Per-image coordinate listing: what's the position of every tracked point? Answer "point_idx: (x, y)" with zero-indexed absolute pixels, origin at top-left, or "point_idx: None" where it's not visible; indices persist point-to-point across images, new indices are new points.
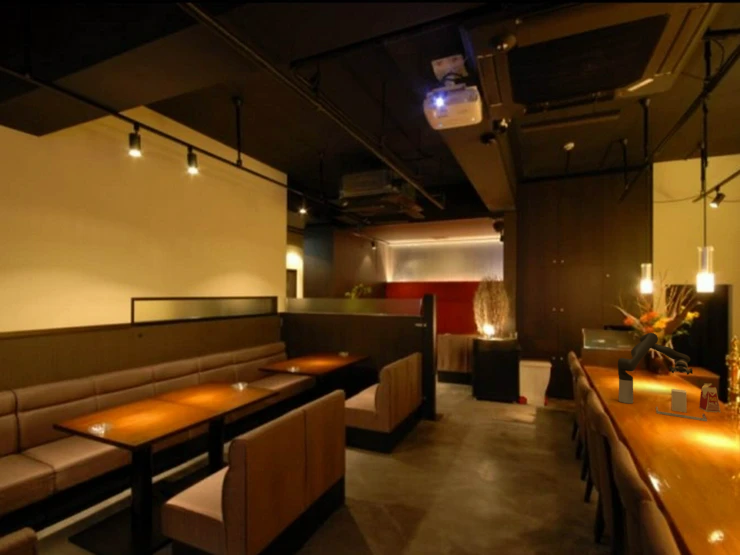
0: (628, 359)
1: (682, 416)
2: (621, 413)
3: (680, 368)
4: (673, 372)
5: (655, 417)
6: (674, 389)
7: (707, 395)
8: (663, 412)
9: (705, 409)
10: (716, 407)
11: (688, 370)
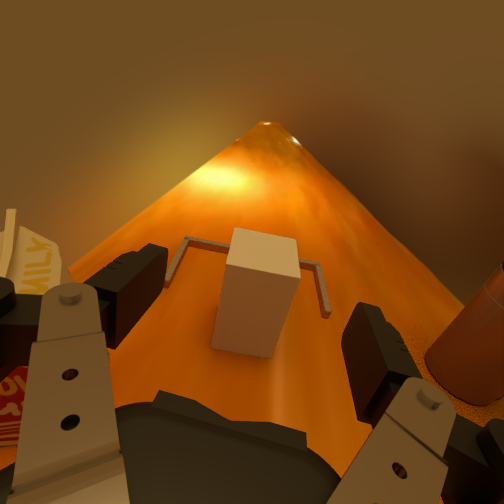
0: None
1: None
2: (387, 248)
3: (227, 464)
4: (348, 326)
5: (314, 241)
6: (284, 266)
7: None
8: (300, 259)
9: (107, 351)
10: None
11: (80, 286)
